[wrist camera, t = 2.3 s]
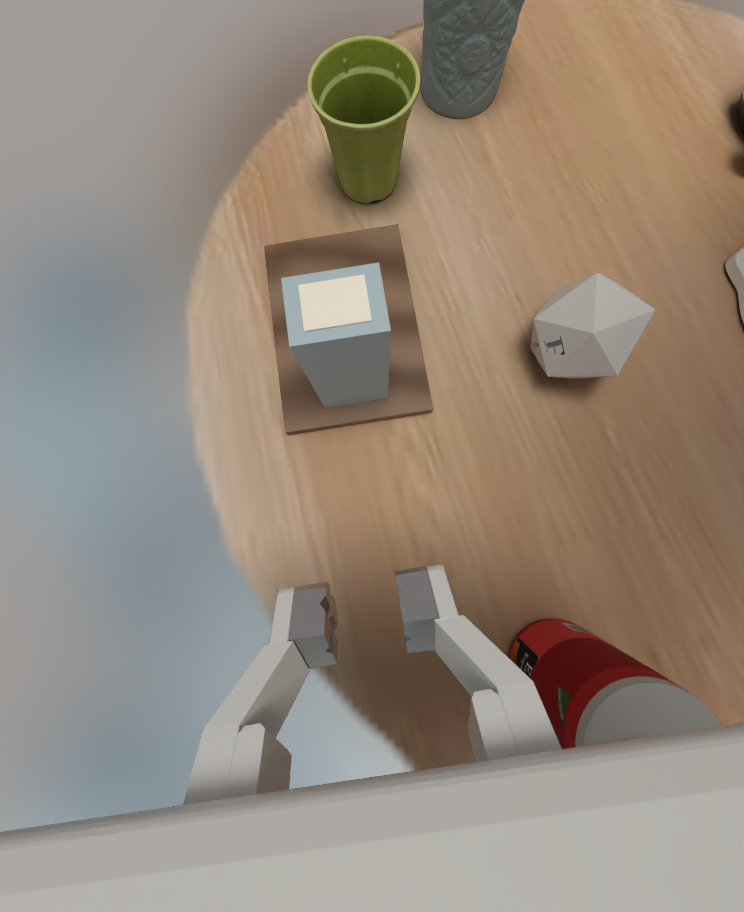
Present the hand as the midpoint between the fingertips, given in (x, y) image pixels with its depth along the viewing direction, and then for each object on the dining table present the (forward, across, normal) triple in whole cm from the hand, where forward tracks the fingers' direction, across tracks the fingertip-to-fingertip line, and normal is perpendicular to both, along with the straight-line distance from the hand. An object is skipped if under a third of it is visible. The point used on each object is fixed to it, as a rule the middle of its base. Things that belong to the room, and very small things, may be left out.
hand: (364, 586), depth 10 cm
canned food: (+5, -13, +23) cm, 27 cm away
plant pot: (+41, -5, -12) cm, 43 cm away
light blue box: (+24, 0, +3) cm, 24 cm away
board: (+29, 0, -1) cm, 29 cm away
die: (+24, -20, +4) cm, 32 cm away
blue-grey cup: (+48, -17, -20) cm, 55 cm away
